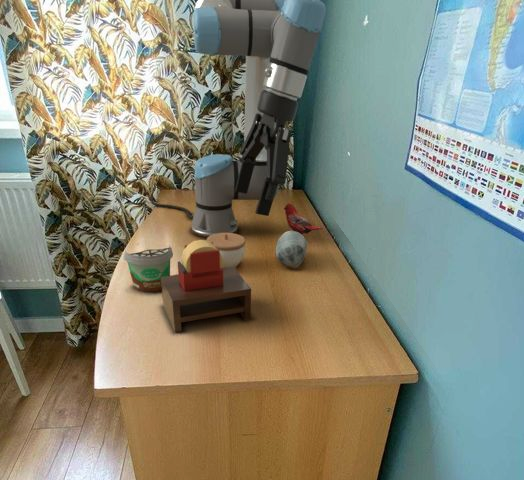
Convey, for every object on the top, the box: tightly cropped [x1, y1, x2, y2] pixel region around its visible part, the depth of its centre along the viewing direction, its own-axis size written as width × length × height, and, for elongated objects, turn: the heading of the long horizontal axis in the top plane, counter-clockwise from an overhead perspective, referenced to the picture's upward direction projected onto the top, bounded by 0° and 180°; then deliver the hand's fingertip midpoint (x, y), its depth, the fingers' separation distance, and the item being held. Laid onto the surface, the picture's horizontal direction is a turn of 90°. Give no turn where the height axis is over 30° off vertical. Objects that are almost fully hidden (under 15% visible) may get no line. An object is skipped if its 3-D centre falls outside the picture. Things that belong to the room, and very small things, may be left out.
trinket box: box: [206, 233, 246, 269], centre depth 128 cm, size 11×11×9 cm
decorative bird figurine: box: [283, 203, 324, 235], centre depth 147 cm, size 3×18×10 cm, turn 43°
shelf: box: [161, 267, 252, 333], centre depth 106 cm, size 12×18×8 cm, turn 112°
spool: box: [275, 230, 308, 269], centre depth 132 cm, size 14×10×10 cm
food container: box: [123, 244, 174, 293], centre depth 114 cm, size 12×6×10 cm, turn 117°
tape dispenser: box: [177, 239, 223, 291], centre depth 101 cm, size 5×9×10 cm, turn 112°
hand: (250, 202), depth 98 cm, fingers open, 13 cm apart
